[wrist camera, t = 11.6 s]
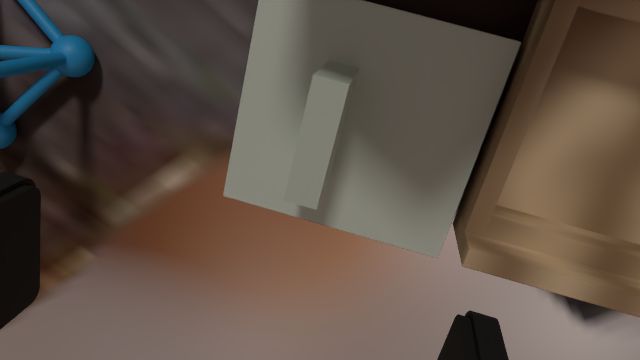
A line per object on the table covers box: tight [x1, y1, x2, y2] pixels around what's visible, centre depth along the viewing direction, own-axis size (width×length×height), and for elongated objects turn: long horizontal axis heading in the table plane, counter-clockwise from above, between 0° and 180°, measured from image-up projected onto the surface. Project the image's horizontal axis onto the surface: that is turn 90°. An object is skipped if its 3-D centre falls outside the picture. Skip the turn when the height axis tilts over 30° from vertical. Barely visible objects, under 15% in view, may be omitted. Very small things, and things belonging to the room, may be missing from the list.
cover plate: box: [223, 0, 521, 258], centre depth 25 cm, size 13×12×6 cm
